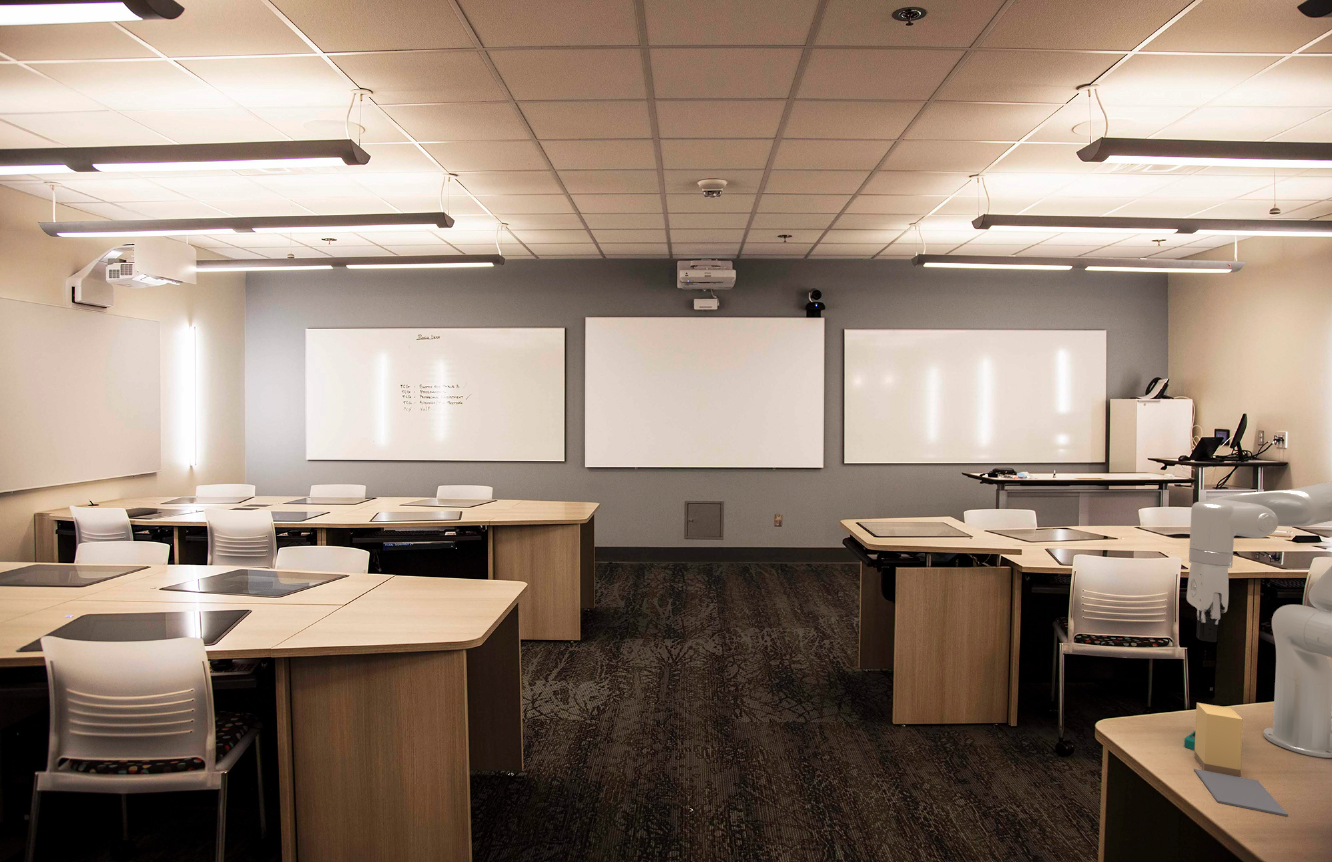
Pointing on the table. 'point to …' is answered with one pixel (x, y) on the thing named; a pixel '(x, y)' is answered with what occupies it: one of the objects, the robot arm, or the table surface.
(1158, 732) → the table surface
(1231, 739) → the ochre block
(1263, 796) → the mat
